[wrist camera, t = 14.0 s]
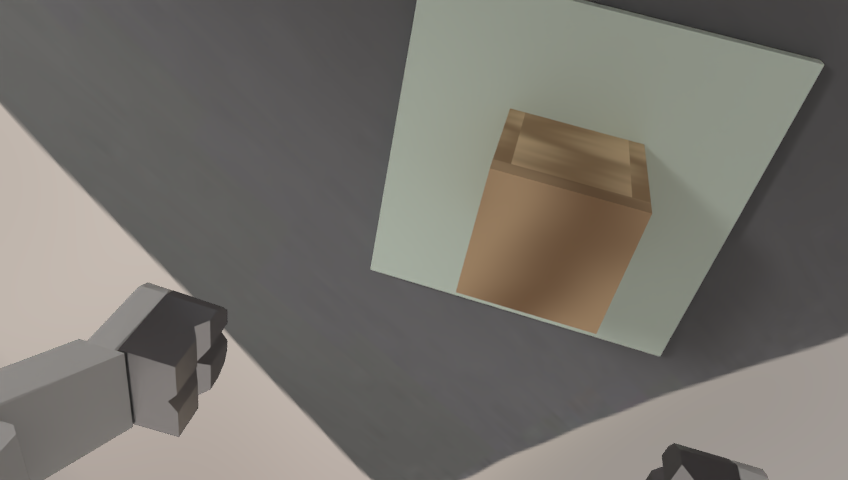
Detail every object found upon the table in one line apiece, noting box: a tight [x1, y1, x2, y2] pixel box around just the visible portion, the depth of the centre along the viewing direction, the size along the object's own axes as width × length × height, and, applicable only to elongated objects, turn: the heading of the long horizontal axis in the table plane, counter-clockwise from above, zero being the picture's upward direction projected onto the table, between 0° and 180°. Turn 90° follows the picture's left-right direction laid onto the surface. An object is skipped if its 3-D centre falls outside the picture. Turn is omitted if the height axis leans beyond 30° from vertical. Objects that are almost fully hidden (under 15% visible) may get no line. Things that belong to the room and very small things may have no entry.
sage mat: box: [370, 0, 824, 356], centre depth 30 cm, size 16×16×1 cm
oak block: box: [456, 108, 652, 334], centre depth 27 cm, size 6×6×6 cm
